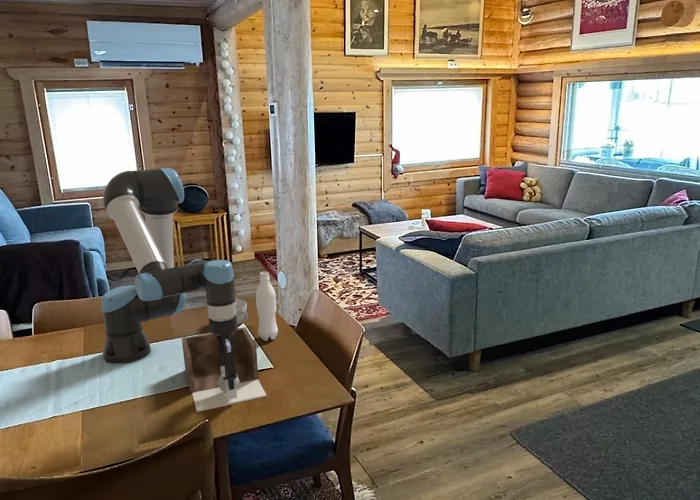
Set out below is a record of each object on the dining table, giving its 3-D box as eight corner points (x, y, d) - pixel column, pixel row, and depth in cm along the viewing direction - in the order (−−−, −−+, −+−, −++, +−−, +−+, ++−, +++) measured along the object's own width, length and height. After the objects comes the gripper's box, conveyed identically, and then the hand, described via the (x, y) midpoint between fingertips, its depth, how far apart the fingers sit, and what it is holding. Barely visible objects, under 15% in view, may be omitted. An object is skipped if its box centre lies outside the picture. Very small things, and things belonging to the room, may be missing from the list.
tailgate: (192, 397, 155) (197, 415, 145) (192, 393, 154) (196, 410, 144) (258, 383, 162) (266, 399, 152) (257, 379, 162) (266, 394, 152)
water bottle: (281, 335, 197) (277, 270, 191) (272, 343, 190) (268, 276, 184) (264, 333, 199) (260, 269, 193) (255, 340, 193) (250, 275, 186)
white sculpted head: (217, 400, 148) (215, 377, 146) (219, 387, 154) (217, 366, 153) (239, 398, 149) (238, 375, 147) (240, 385, 155) (239, 364, 153)
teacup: (208, 325, 208) (207, 306, 206) (232, 315, 218) (231, 297, 216) (235, 333, 199) (233, 313, 197) (259, 323, 209) (257, 303, 207)
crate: (191, 397, 155) (187, 358, 152) (185, 374, 169) (181, 338, 166) (258, 383, 162) (256, 345, 159) (248, 362, 176) (245, 327, 173)
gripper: (243, 326, 138) (250, 405, 144) (229, 303, 156) (236, 374, 162) (214, 331, 135) (222, 412, 141) (203, 307, 153) (210, 379, 159)
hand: (229, 391), depth 151 cm, fingers closed on white sculpted head, 7 cm apart
